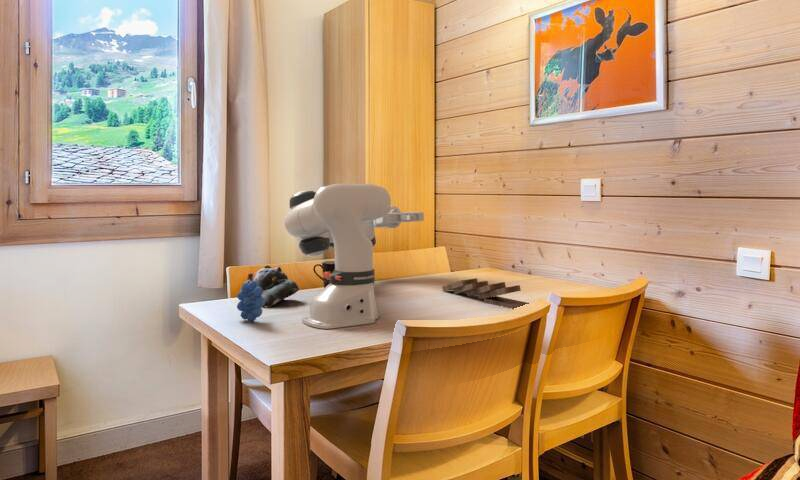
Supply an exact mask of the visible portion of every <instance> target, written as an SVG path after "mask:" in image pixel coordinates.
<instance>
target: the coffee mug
mask: <svg viewBox="0 0 800 480" xmlns="http://www.w3.org/2000/svg"><path fill="white" fill-rule="evenodd" d="M318 266H319V267H320V268H321V270H322V276H321V275H319V274H318V273H317V271H316V267H318ZM334 269H335V260H322V261H321V263H318V264H315V265H314V266H313V272H314V274H315V275H316V277H318V278H320V280H322V281H323V289H324V288H325V287H326V286H327V285H328V284H330V279H331V278H330V279H325V277H323V275H324V272H330V273H331V274H332V273H333V271H334Z"/></svg>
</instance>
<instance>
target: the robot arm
mask: <svg viewBox="0 0 800 480" xmlns="http://www.w3.org/2000/svg"><path fill="white" fill-rule="evenodd" d="M289 208H290V211H288V212H287V214H286V215H285V217H284V227H285V230H286V231H287V233H288V234H289V235H290V236H292V237H294V238H295V239H296V240H297V242H298V247H299V249H300V251H301V253H302V254H303V255H305V256H313V257H315V256H318V255H321V254H324V253H325V252H326V251H328V250H329V248H333V249H334V261H335V269H334V271H333V273H332V274H331V273H330V272H324V275H323V274H322V278H323V277H325V279H330V278H331V279H330V284H328V285H327V286H326V287H325V288H324V287H323V289H321V291H320V292H318V293H317V294H316V295H315V296H314V297H313V298H312V300H311V303H310V306H309V307H310V308H309V313H308V315H307V314H306V315H304V316H303V315H302V317H301V322H302V323H303V324H305V325H307V326H309V327H313V328H317V329H325V330H327V329H337V328H338V329H339V328H342V327H343V328H346V327H353V326H359V325H360V326H361V325H368V324H370V325H371V324H374V323H376V320H377V319H379V317H380V315H379V311H378V308H377V303H376V295H375V290H374V289H375V288H374V287H375V283H376V282H375V280H376V279H375V269H374V247H375V246H376V244H377V240H376V235H375V228H379V229H380V228H384V229H396V228H398V227H399V226H400V225H401V223H412V222H414V223H415V222H416V223H417V222H424V220H425V215H424V212H423V211H407V212H406V211H403V212H402V211H401V209H400V208H399V207H397V206H395V205H392V200H391V196H390V193H389V191H388V190H387V189H386V188H385V187H383V186H380V185H377V184H373V183H333V184H328V185H325V186H322V187H319V188H318V190H316V191H315V190H305V189H304V190H301V191H298V192H296V193H294V194H293V195H291V197H290V198H289Z"/></svg>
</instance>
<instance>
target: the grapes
mask: <svg viewBox="0 0 800 480" xmlns="http://www.w3.org/2000/svg"><path fill="white" fill-rule="evenodd" d="M245 282H246V281H245ZM245 282H244V283H243V284H242V285H241V288H240V290H239V291H238V293H237V295H236V297H237V299H238V300H239V302H238V303H237V304H236V308H237V310H238V311H240V317H241V319H243V320H247V321H248V322H249V323H253V322H255V321H256V319H257V318H259V317H261V316H262V315H263V314H262V313H263V308H262V306H263V305H264V303H265V300H264V298H263V297H262V296H261V295H262V293H263V289H262V288H261V287H259V286H258V285H257V283H256V282H255V281H250V282H249V283H248V282H246V283H245Z"/></svg>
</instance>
